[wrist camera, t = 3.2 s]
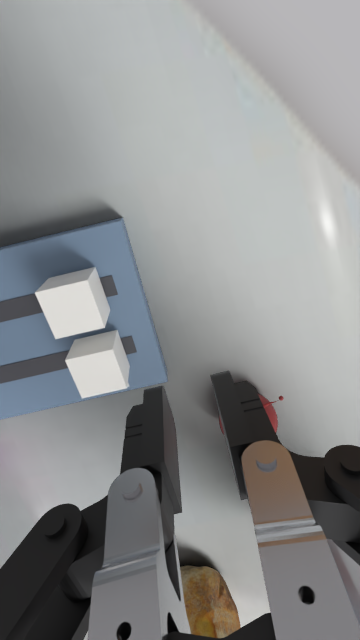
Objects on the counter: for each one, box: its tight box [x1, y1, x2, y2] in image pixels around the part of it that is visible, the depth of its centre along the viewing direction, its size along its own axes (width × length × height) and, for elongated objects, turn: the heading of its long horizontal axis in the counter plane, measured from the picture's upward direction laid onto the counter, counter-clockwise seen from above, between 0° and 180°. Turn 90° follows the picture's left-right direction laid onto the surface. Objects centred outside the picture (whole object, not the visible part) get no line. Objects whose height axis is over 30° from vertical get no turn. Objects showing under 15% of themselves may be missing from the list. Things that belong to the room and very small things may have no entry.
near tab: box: [35, 267, 110, 339], centre depth 26 cm, size 4×4×4 cm
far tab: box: [65, 330, 130, 398], centre depth 29 cm, size 4×4×4 cm
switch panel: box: [0, 217, 168, 419], centre depth 30 cm, size 20×16×2 cm
